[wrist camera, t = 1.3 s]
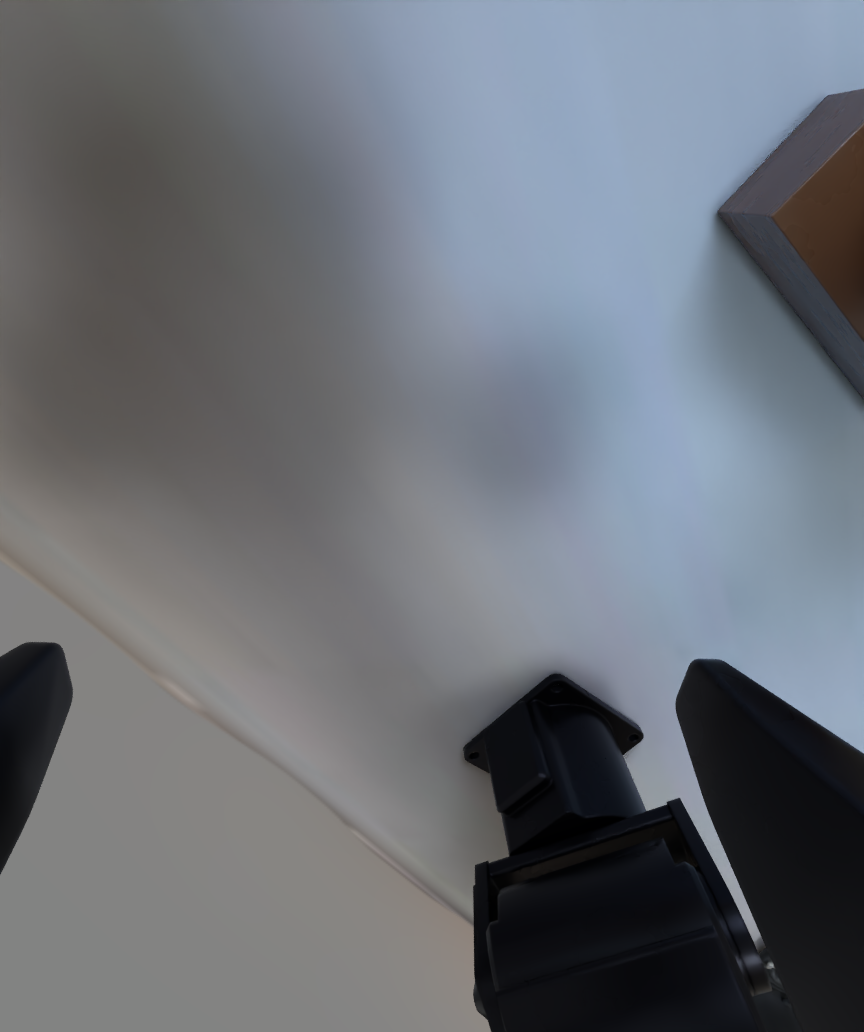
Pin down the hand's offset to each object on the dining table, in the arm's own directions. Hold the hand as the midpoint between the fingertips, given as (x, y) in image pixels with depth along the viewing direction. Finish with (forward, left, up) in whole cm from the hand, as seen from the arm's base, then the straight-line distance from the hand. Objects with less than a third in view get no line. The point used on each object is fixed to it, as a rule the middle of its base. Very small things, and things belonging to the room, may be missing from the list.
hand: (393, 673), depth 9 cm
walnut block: (-9, -13, -14) cm, 21 cm away
